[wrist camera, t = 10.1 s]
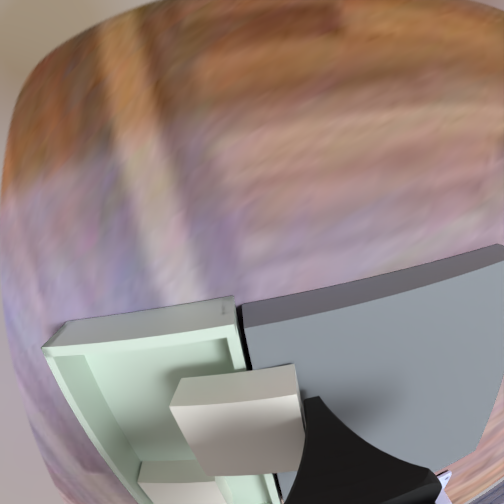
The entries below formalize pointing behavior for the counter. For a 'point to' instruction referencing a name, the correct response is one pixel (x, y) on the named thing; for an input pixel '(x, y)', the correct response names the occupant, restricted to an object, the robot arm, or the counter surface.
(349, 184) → the counter surface
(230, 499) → the tile
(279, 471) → the tile
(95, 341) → the tray
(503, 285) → the board
